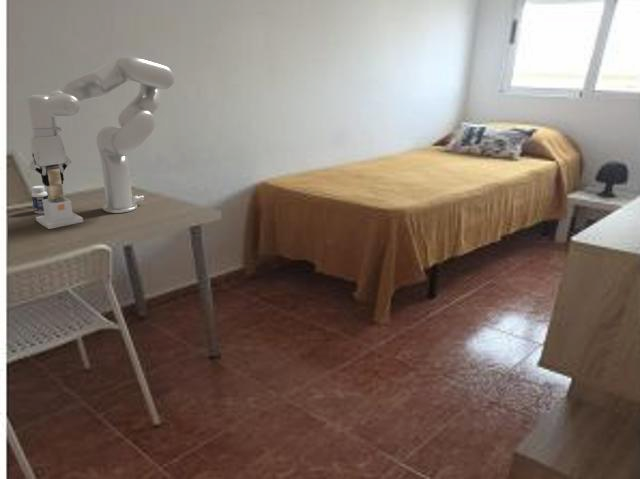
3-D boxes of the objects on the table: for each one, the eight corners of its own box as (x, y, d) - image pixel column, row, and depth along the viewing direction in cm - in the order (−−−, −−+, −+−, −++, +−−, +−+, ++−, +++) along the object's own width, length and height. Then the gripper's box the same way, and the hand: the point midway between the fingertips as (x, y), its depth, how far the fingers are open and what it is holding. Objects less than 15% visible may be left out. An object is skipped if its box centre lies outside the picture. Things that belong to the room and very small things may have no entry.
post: (60, 202, 194) (54, 163, 189) (65, 205, 191) (58, 165, 186) (49, 205, 191) (42, 165, 186) (53, 207, 189) (46, 167, 183)
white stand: (70, 214, 201) (66, 191, 198) (83, 221, 193) (79, 197, 190) (36, 220, 193) (32, 197, 190) (48, 229, 185) (44, 204, 182)
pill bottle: (38, 214, 200) (34, 189, 197) (31, 211, 203) (27, 187, 200) (53, 211, 204) (48, 186, 201) (45, 208, 207) (41, 184, 204)
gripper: (66, 128, 190) (73, 178, 196) (14, 133, 179) (24, 186, 185) (74, 131, 185) (82, 182, 192) (22, 136, 174) (32, 190, 180)
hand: (53, 183), depth 188 cm, fingers closed on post, 4 cm apart
